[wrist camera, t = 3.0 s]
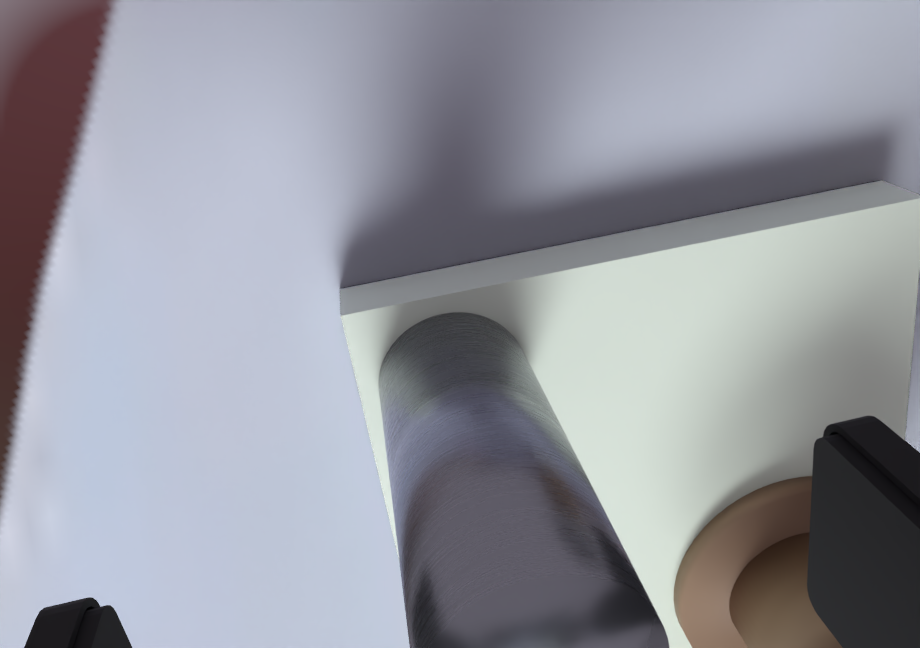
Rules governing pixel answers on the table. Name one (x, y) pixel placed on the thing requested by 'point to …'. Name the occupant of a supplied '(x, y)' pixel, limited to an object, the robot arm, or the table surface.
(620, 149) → the table surface
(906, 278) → the base board
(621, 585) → the peg
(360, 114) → the table surface
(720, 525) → the bobbin
